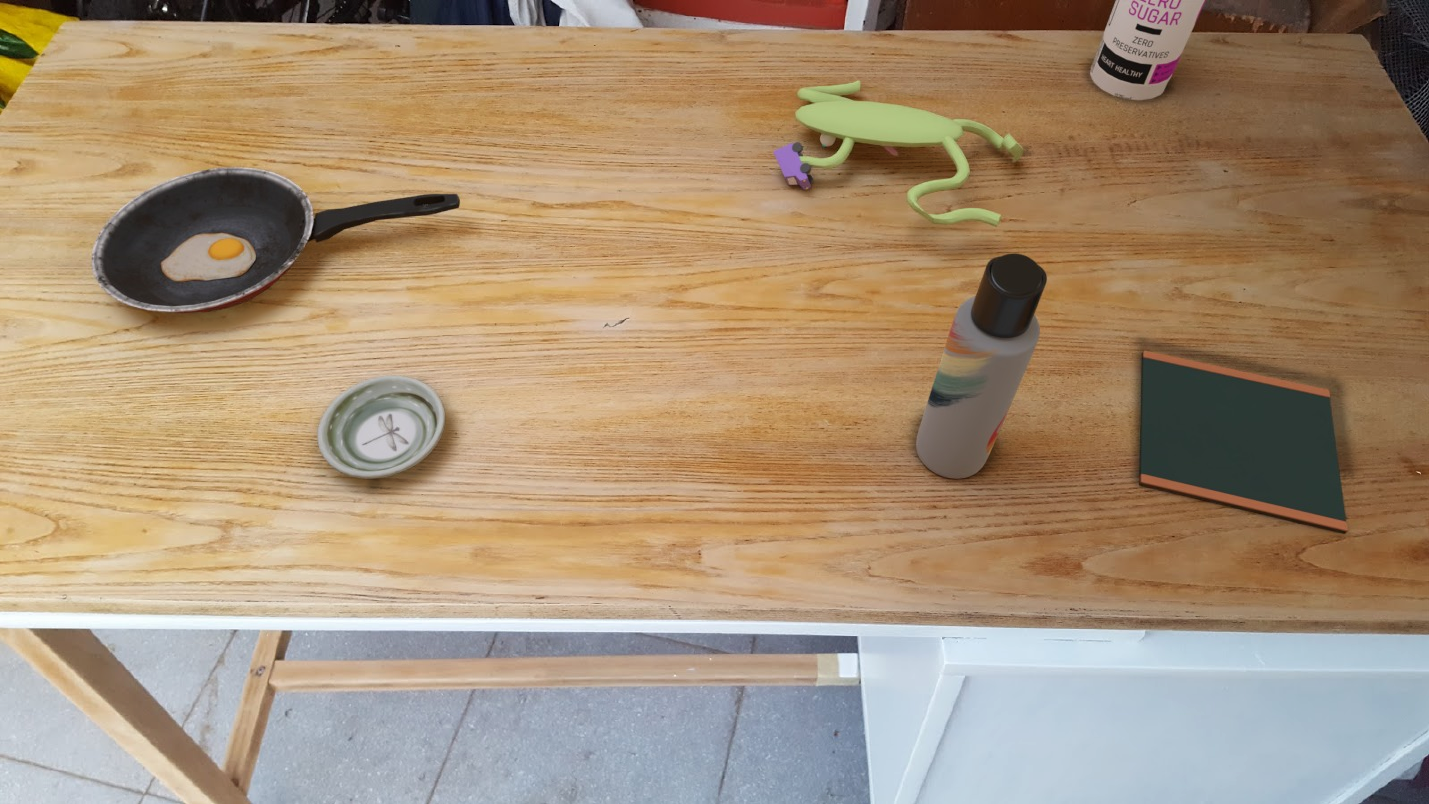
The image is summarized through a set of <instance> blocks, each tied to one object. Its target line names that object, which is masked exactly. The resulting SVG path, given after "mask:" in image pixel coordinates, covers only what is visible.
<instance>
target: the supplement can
mask: <svg viewBox="0 0 1429 804" xmlns="http://www.w3.org/2000/svg"><path fill="white" fill-rule="evenodd" d="M1206 1H1207V0H1115V1H1114V4H1113V7H1112V10H1111V12H1110V15H1109V18H1108V20H1107V23H1106V26H1105V29H1104V32H1103V34H1102V36H1101V40H1100V42H1099V45H1098V47H1097V50H1096V53H1095V56H1094V58H1093V61H1092V63H1091V66H1090V72H1089V74H1090V75H1089V76H1090V78H1091V80H1092V82H1093V83H1094V84H1095V85H1096V86H1097V87H1099V89H1100V90H1102V91H1104V92H1106V93H1108V94H1109V95H1112V96H1114V97H1118V98H1121V99H1123V100H1124V99H1125V100H1134V101H1143V100H1144V101H1145V100H1152V99H1154V98H1156V97H1159V96H1161V95H1162V94H1163V93H1164V92H1165V90H1167V87H1168V85H1169V83H1170V80H1171V78H1172V76H1173V74H1174V72H1175V70H1176V67H1177V65H1178V63H1179V61H1180V58H1181V56H1182V54H1183V52H1184V50H1185V47H1186V45H1187V43H1188V41H1189V38H1190V36H1191V34H1192V32H1193V29H1194V27H1195V26H1196V23H1197V21H1198V19H1199V16H1200V14H1201V11H1202V9H1203V7H1204V6H1205V3H1206Z"/></svg>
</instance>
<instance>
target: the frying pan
mask: <svg viewBox="0 0 1429 804" xmlns="http://www.w3.org/2000/svg"><path fill="white" fill-rule="evenodd" d="M460 204H461V199H460V196H459V195H458V194H457V193H425V194H418V195H413V196H412V195H411V196H406V197H398V198H392V199H385V200H378V201H373V202H367V203H362V204H357V205H351V206H347V207H340V208H329V209H328V208H327V209H324V210H321V211H318V212H316V213H315V215H314V209H313V206H312V203H311V201H310V199H309V196H308V195H307V193H305V191H304V190H303V189H302V188H301V187H300V186H299V185H298V184H296V183H295V182H293V181H292V180H291V179H289V178H287V177H286V176H283V175H280V174H278V173H276V172H273V171H269V170H265V169H260V168H255V167H244V166H243V167H241V166H229V167H215V168H208V169H203V170H198V171H197V170H196V171H193V172H189V173H186V174H183V175H180V176H176V177H173V178H170V179H168V180H166V181H164V182H161V183H159V184H156V185H154V186H152V187H151V188H149V189H147V190H145V191H144V192H141V193H140V194H138V195H137V196H135V197H134V198H132V199H131V200H129V201H128V202H127V203H125V204H124V205H122V206H121V207H120V208H119V209H118V210H117V211H116V212H115V213H114V214H113V215H112V216H111V217H110V218H109V219H108V220H107V222H106V223H105V224H104V226H103V227H102V229H101V230H100V232H99V233H98V235H97V237H96V239H95V241H94V244H93V247H92V252H91V260H90V264H91V268H92V273H93V277H94V279H95V280H96V282H97V283H98V285H99V286H100V288H101V289H102V290H103V291H104V292H105V293H107V294H108V295H109V296H110V297H112V298H113V299H115V300H116V301H119V302H121V303H123V304H125V305H127V306H130V307H133V308H138V309H142V310H146V311H151V312H160V313H161V312H162V313H171V314H180V315H183V314H184V315H185V314H186V315H187V314H198V313H199V314H200V313H210V312H211V313H212V312H215V311H221V310H225V309H229V308H232V307H234V306H238V305H241V304H243V303H245V302H247V301H249V300H252V299H254V298H255V297H258V296H259V295H261V294H262V293H263V292H265V291H267V290H268V289H269V288H271V287H272V286H273V285H274V284H276V282H278V281H279V280H280V279H281V278H282V277H283V276H284V275H285V274H287V272H288V271H289V270H290V268H291V267H292V266H293V265H294V264H295V262H296V261H297V260H298V258H299V257H300V255H301V254H302V252H303V251H304V249H305V247H306V245H307V243H308V242H311V241H315V242H316V243H320V242H323V241H326V240H329V239H331V238H333V237H335V236H336V235H338V234H340V233H342V232H343V231H345V230H348V229H351V228H356V227H358V226H362V225H366V224H369V223H372V222H376V221H383V220H384V221H385V220H393V219H395V220H396V219H404V218H412V217H413V218H414V217H424V216H426V217H427V216H431V215H437V214H440V213H444V212H449V211H452V210H455V209H459V208H460V206H461V205H460Z"/></svg>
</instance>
